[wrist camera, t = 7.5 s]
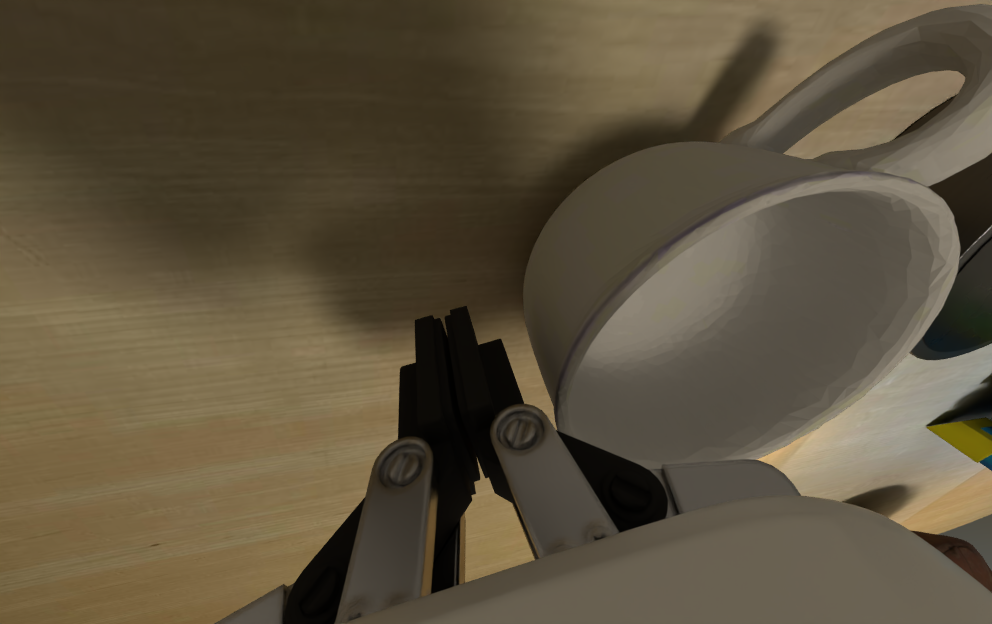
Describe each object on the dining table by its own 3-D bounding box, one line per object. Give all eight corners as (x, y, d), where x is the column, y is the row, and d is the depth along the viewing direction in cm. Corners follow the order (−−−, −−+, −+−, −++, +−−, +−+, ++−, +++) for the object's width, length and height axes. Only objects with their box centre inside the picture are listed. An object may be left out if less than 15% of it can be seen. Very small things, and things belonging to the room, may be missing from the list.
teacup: (606, 369, 20) (701, 509, 14) (446, 297, 15) (481, 469, 9) (826, 153, 15) (1134, 220, 9) (700, -73, 10) (1247, -317, 4)
